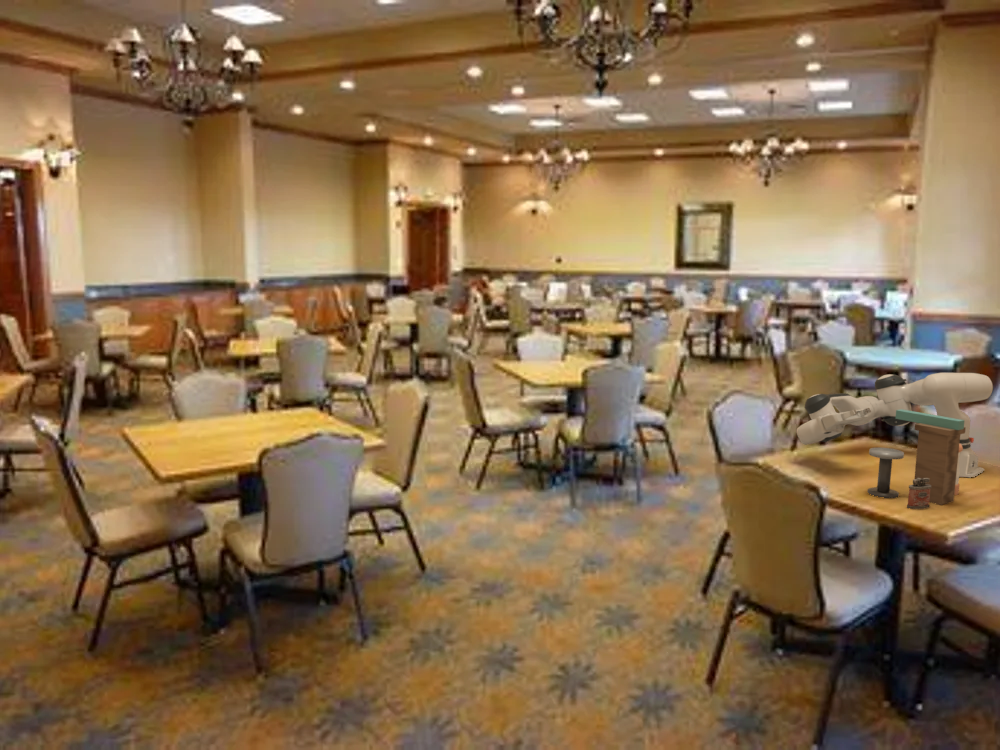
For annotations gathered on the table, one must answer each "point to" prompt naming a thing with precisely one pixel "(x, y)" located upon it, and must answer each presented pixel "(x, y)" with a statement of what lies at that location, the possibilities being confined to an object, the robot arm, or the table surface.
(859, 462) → the table surface
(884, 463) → the cake stand
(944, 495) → the tall stand
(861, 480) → the table surface
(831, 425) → the robot arm
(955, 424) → the rod
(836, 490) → the table surface
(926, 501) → the lighter
